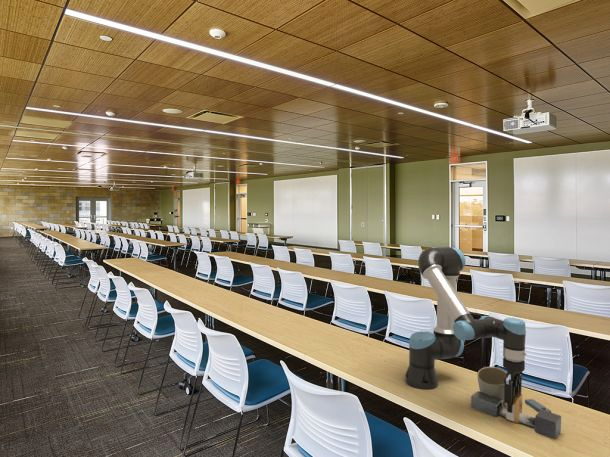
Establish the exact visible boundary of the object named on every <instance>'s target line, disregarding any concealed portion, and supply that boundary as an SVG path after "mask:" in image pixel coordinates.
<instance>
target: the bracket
mask: <svg viewBox="0 0 610 457" xmlns="http://www.w3.org/2000/svg"><path fill="white" fill-rule="evenodd" d="M524 404H525V405H527V406H528V407H530V408H532V409H533V410H535V411H536V412H537V413H538V412H539V411H540V410H544V411H547V412H550V413H552V410H551V409H549V408H547V407H546V406H544V404H542V403H540V402H538V401H537V400H536V399H534V398H527V399H524Z"/></svg>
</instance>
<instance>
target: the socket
mask: <svg viewBox="0 0 610 457" xmlns="http://www.w3.org/2000/svg"><path fill="white" fill-rule="evenodd" d="M534 418H535V427H534V432H535V433H538V434H539V435H542V436H546V437H548V438H551V439H553V440H556V439H557V438H558V437H559V435H560V434H561V432H562V415H559V414H556V413H553V412H551V413H550V412H547V411H544V410H540V411H539V412H538V411H537V413H536V415H535V417H534Z"/></svg>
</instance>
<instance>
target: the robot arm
mask: <svg viewBox="0 0 610 457" xmlns="http://www.w3.org/2000/svg"><path fill="white" fill-rule="evenodd" d="M417 266H418V270H419V272H420V275H421V276H422V278H423V279H425V280H427V281H428V283H429V285H430V286H431V288H432V290H433V292H434V293H435V294H436V296H437V297H436V298H437V299H436V300H437V301H436V302H437V304H436V326H435V327H434V328H433V332H431V331H422V330H421V331H416V332H413V333H412V334H411V335H410V337H409V343H408V347H409V353H408V355H409V356H408V358H409V359H408V360H409V362H408V367H407V370H406V372H405V374H404V375H405V376H404V378H405V379H404V380H405V381H404V382H405V383H406V384H407V385H409V386H411V387H413V388H417V389H421V390H432V389H435V388H437V387H438V386H439V378H438V375H437V371H436V366H435V365H436V364H435V362H436V361H437V360H445V359H453V358H456V357H459V356H461V355H462V353H463V352H464V348H465V341H471V340H476V339H486V338H496V339H498V340H502V342H503V345H502V346H503V347H502V350H503V351H502V356H503V358H502V367H503V368H504V369H505V370H506V372H507V374H506V377H507V379H506V378H504V402H503V404H506V407H505V408H506V417H505V419H508V420H507V421H510V420H511V421H510V422H513V421H514V417H515V404H514V395H515V392H516V393H519V394H522V390H523V389H522V384H523V382H522V381H523V373H524V371H525V369H526V368H525V367H526V366H525V365H526V362H525V359H526V356H527V352H526V335H527V334H526V333H527V330H526V322H525V321H524V320H523V319H521V318H517V317H506V318H504V320H502V319H500V318H496V317H493V316H490V315H483V316H481V317H480V318H479V319H476V318H475V319H474V317H473V316H472V313H471V312H469V310H468V308H467V307H466V306H465V303H463V301H462V298H460V297H459V295H458V293H457V279H458V278H459V277H460V274H461V271H463V270H464V268H465V267H466V257H465V255H464V253H463V251H462V250H461V249H459V248H457V247H451V246H447V247H444V246H443V247H429V248H426V249H424V250H423V251H421V253H420V255H419V257H418V259H417Z"/></svg>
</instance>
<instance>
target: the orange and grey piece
mask: <svg viewBox="0 0 610 457" xmlns="http://www.w3.org/2000/svg"><path fill="white" fill-rule="evenodd" d="M514 404H515V417H514V421H511V420H508V419H507V421H510V422H513V423H515V424H520V423H521V424H525V425H527V426H530V427H532V428H535V417H534V416H532V415H528V414H525V413H523V394H522V393H521V394H519V393H516V392H515V395H514ZM506 408H507V407H504V406H503V407H502V406H499V405H498V406H497V416H502V417H505V418H506Z"/></svg>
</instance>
